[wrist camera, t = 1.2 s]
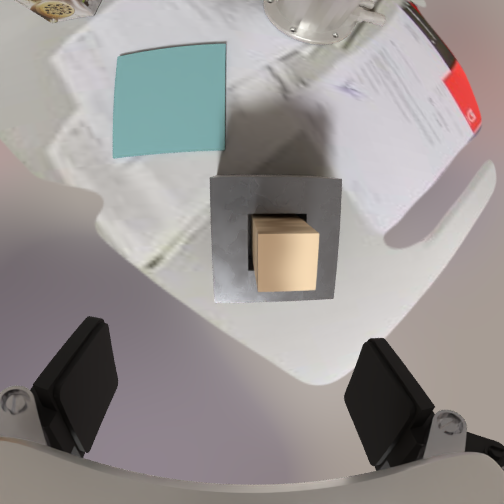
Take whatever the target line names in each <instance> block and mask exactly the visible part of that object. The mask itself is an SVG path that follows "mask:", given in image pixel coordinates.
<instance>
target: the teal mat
mask: <svg viewBox="0 0 504 504" xmlns="http://www.w3.org/2000/svg"><path fill="white" fill-rule="evenodd" d="M225 61H226V44H205V45H192V46H181V47H172V48H164V49H157V50H151V51H145V52H139V53H133V54H128V55H123V56H119V57H118V58H117V68H116V78H115V91H114V109H113V158H122V157H130V156H140V155H150V154H162V153H175V152H191V151H214V150H225Z"/></svg>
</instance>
